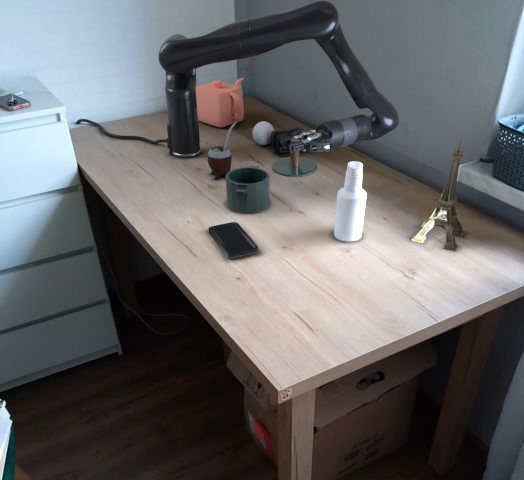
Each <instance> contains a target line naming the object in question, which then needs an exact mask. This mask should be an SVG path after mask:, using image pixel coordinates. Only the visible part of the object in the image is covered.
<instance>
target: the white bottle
mask: <svg viewBox="0 0 524 480" xmlns="http://www.w3.org/2000/svg"><path fill="white" fill-rule="evenodd" d="M363 167H364V164H363V163H362V161H357V160H351V161H349V162H348V163H347V168H346V171H345V176H344V177H345V178H344V183H343V187H341V188H339V190H338V191H337V195H336V205H335V217H334V227H333V228H334V229H333V235H334V237H335V238H336V239H337V240H339V241H342V242H348V243H350V242H356V241H358V240H360V239H361V238H362V235H363V228H364V220H365V219H364V218H365V211H366V204H367V195H368V193H367V192H366V190H365V189H363V188H362V187H363V186H362V185H363V175H364V172H363Z"/></svg>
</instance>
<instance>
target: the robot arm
mask: <svg viewBox="0 0 524 480" xmlns="http://www.w3.org/2000/svg"><path fill="white" fill-rule="evenodd" d="M307 40H314V41H315V43H317V45H319V47H320V48H321V49H322V50H323V52H324V53H325V54H326V55H327V57H328V59H329V60H330V61H331V63H332V64H333V66H334V69H335V70H336V72H337V74H338V76H339V78H340V79H341V81H342V83H343V85H344V87H345V89H346V91H347V92H348V94H349V95H350V97H351V99H352V100H353V102H354V103H355V106H356V107H357V108H358V109H360V110H364V109H369V110H370V111H371V112H372V113H371V114H369V115H365V114H355V115H353V116H347V117H339V118H336V119H330V120H328V121H327V120H326V121H322V122H320V123H319V124H318V126H317V127H316V129H310V130H308V131H304V130H305V128H303V127H302V128H300V129H298V130H297V131H295V132H293V133H292V134H291V138H290V139H286V140H283V141H282V148H283V149H287V148H289V152H290V153H293V152H297V151H301V150H302V151H305V152H306V151H307V153H309V154H313V153H326V152H327V153H328V152H330V151H333V150H336V149H340V148H341V149H342V148H344V147H348V146H349V145H352V144H355V143H359V142H362V141H373V140H377V139H380V138H382V137H384V136H385V135H387V134H388V133H390V132H392V131H394V130H395V129H397V127H398V126H399V124H400V123H399V122H400V117H399V116H400V115H399V112H398V110H397V108H396V106H395V105H394V104H393V103H392V102H391V101H390V100H389V99H388V98H387V97H386V96H385V95H384V94H383V93H381V92H380V91H379V90H378V88H377V86H376V85H375V83H374V81H373V79H372V78H371V75H370V74H369V73H368V71H367V69H366V68H365V67H364V64H362V62H361V61H360V59H359V58H358V56H357V55H356V54H355V53H354V51H353V49H352V48H351V46H350V44H349V43H348V41H347V39H346V37H345V34H344V32H343V29H342V26H341V24H340V15H339V10H338V8H337V7H336V5H335V4H334V3H333V2H331V1H330V0H315V1H313V2H310V3H308V4H305V5H303V6H300V7H297V8H294V9H291V10H288V11H285V12H280V13H273V14H265V15H259V16H255V17H250V18H246V19H242V20H237V21H234V22H231V23H228V24H226V25H224V26H220V27H219V28H217V29H214V30H213V31H211V32H209V33H206V34H203V35H201V36H200V35H199V36H195V37H190V38H188V37H187V36H185V35H184V34H179V33H176V34H172V35H170V36H168V37H167V39H165V40H164V42H163V43H162V44H161V46H160V48H159V50H158V63H159V65H160V67H161V68H162V70H164V71H165V85H164V93H165V101H166V103H165V104H166V110H167V111H166V112H167V120H168V122H167V124H166V132H167V137H166V138H161V139H157V140H152V139H149V138H146V137H144V136H139V135H121V134H114V133H110V132H108V131H106V130H104V129H103V128H102V126H101V124H99V123H98V122H95V121H93V120H90V119H88V118H87V119H86V118H80V119H78V120H76V122H75V125H80V123H83V122H84V123H88V124H90V125H94V126H96V127H97V128H98V131H100V132H101V134H104V135H106V136H108V137H110V138H114V139H122V140H123V139H124V140H126V139H128V140H141V141H144V142H147V143H149V144H152V145H158V144H161V143H166V146H167V149H168V150H169V155H170V156H174V157H176V158H181V159H189V158H194V157H197V156H199V155H200V154H201V153H202V149H201V146H202V140H201V137H200V125H199V123H200V121H199V120H198V110H197V97H196V87H197V69H199V68H202V67H205V66H209V65H212V64H219V63H226V62H231V61H238V60H243V59H248V58H252V57H256V56H259V55H263V54H266V53H269V52H271V51H273V50H275V49H278V48H280V47H282V46H284V45H287V44H290V43H294V42H300V41H307ZM293 138H297V139H300V141H299V142H295V143H291V144H290V140H291V139H293Z"/></svg>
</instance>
